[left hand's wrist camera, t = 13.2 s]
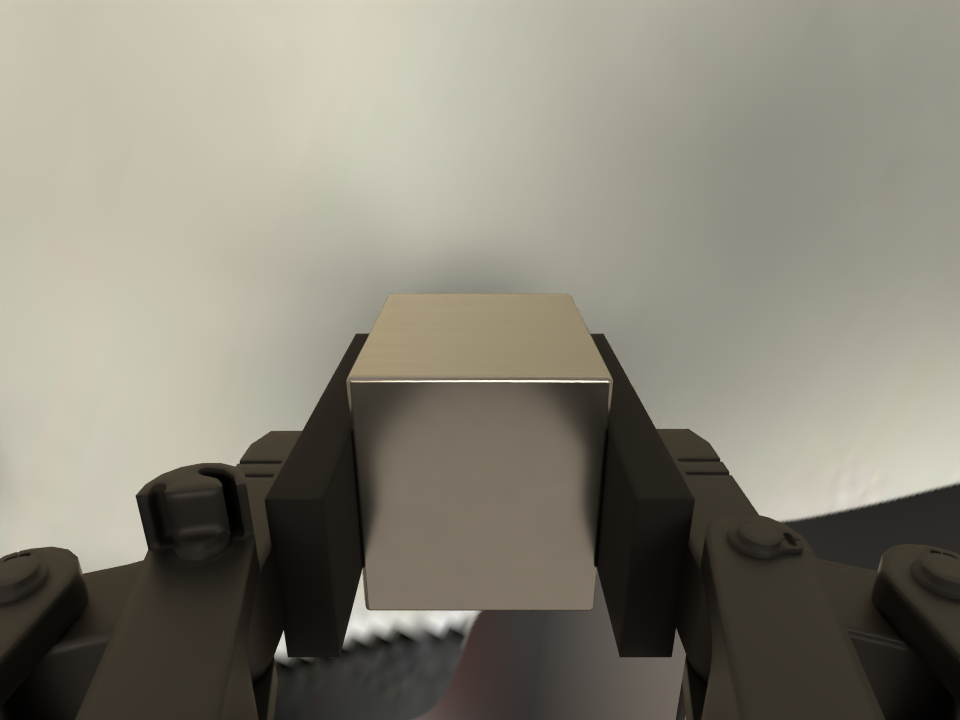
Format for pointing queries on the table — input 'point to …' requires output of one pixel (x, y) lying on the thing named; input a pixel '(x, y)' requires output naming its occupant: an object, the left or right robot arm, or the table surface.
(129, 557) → the table surface
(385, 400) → the block
